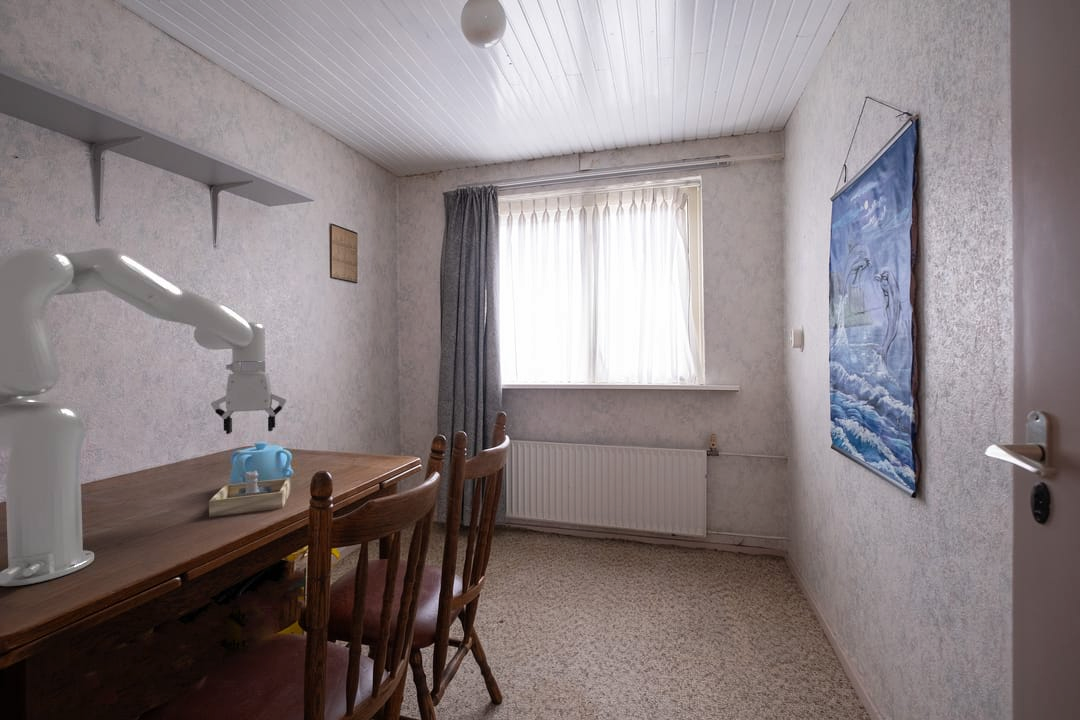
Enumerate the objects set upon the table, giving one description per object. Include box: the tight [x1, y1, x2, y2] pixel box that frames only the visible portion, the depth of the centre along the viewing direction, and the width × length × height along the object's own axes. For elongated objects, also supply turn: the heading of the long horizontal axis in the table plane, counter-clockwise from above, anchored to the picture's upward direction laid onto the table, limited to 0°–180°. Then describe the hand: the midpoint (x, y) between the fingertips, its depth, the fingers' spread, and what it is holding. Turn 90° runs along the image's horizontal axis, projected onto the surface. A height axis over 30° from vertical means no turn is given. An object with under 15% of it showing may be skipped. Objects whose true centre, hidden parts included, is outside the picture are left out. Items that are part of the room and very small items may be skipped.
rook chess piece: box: [245, 471, 259, 493], centre depth 124 cm, size 4×4×8 cm
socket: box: [233, 485, 272, 497], centre depth 125 cm, size 8×8×3 cm
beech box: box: [208, 477, 291, 518], centre depth 125 cm, size 16×16×4 cm
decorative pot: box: [229, 441, 294, 484], centre depth 142 cm, size 16×16×14 cm
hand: (250, 431), depth 124 cm, fingers open, 9 cm apart
